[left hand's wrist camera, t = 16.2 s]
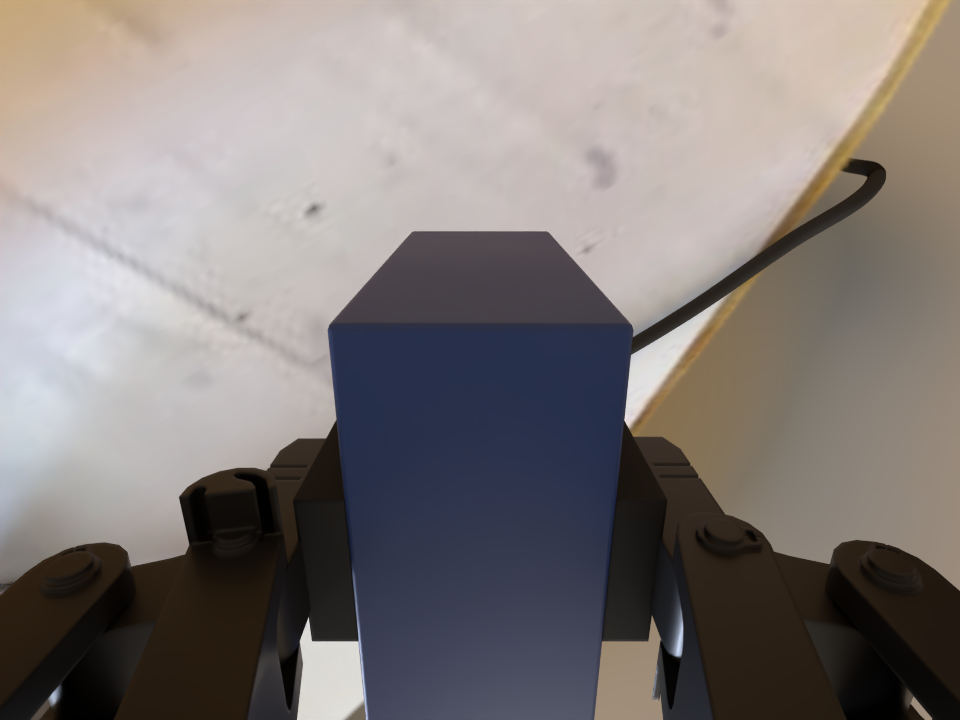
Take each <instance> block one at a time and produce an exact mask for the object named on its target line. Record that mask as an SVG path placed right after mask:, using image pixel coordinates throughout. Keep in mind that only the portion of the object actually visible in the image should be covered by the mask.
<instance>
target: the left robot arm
mask: <svg viewBox="0 0 960 720" xmlns="http://www.w3.org/2000/svg"><path fill="white" fill-rule="evenodd" d="M840 171H843V172H847V173H852V174H858V175H863V176H866V177H867V180H866V181H865V183H864V185H863V186H862V187H861V188H860V189H858V190H857V191H856V192H855V193H854V194H852V195H851V196H849V197H848V198H847V199H845V200H844V201H842V202H840V203H839V204H837V205H836V206H834V207H832V208H831V209H829V210H827V211H826V212H824V213H822V214H821V215H819V216H817V217H815V218H814V219H812V220H810V221H808V222H807V223H805V224H803V225H802V226H800V227H798V228H797V229H795V230H794V231H792V232H790V233H789V234H787V235H786V236H784V237H783V238H781V239H780V240H778V241H777V242H775V243H774V244H773V245H771V246H770V247H768V248H767V249H765V250H764V251H763V252H761V253H760V254H758V255H757V256H755V257H754V258H753V259H751V260H750V261H748V262H747V263H746V264H744V265H743V266H741V267H740V268H738V269H737V270H736V271H734V272H733V273H731V274H730V275H729V276H727V277H726V278H724V279H723V280H722V281H720V282H719V283H717V284H716V285H714V286H713V287H711V288H710V289H709V290H707V291H706V292H704V293H703V294H701V295H700V296H698V297H697V298H695V299H694V300H692V301H691V302H689V303H688V304H686V305H685V306H683V307H681V308H680V309H678V310H677V311H675V312H674V313H672V314H670V315H669V316H667V317H666V318H664V319H662V320H661V321H659V322H658V323H656V324H654V325H653V326H651V327H649V328H648V329H646V330H644V331H643V332H641V333H639V334H638V335H636V336H634V337H633V338H632V348H631V355H632V354H633V353H635V352H637V351H639V350H640V349H642V348H644V347H645V346H647V345H649V344H650V343H652V342H654V341H655V340H657V339H659V338H660V337H662V336H664V335H665V334H667V333H669V332H670V331H672V330H674V329H675V328H677V327H678V326H680V325H682V324H683V323H685V322H686V321H688V320H690V319H691V318H693V317H694V316H696V315H697V314H699V313H700V312H702V311H704V310H705V309H707V308H708V307H710V306H711V305H713V304H714V303H716V302H717V301H718V300H720V299H721V298H723V297H724V296H726V295H727V294H729V293H730V292H732V291H733V290H734V289H736V288H737V287H739V286H740V285H742V284H743V283H744V282H746V281H747V280H749V279H750V278H752V277H753V276H754V275H756V274H757V273H759V272H760V271H762V270H763V269H764V268H766V267H767V266H769V265H770V264H771V263H773V262H774V261H776V260H777V259H779V258H780V257H782V256H783V255H785V254H786V253H788V252H789V251H791V250H792V249H794V248H795V247H797V246H798V245H800V244H801V243H803V242H805V241H806V240H808V239H810V238H811V237H813V236H815V235H817V234H818V233H820V232H822V231H824V230H825V229H827V228H829V227H831V226H832V225H834V224H836V223H838V222H839V221H841V220H843V219H844V218H846V217H848V216H849V215H851V214H852V213H854V212H855V211H857V210H858V209H860V208H861V207H863V206H864V205H865V204H866V203H868V202H869V201H870V200H871V199H872V198H873V197H874V196H875V195H876V194H877V193H878V191H879V190H880V189H881V188H882V186H883V184H884V182H885V180H886V170H885V169H884V167H883V166H882V165H880V164H879V163H877V162H874V161H868V160H860V159H853V158H849V159H848V160H847V162H846V163H845V165H844V166H843V167H842V168H841V170H840ZM179 499H180V504H181V508H182V513H183V518H184V522H185V527H186V531H187V536H188V540H189V547H188V550H187V552H186V554H185V555H181V556H178V557H174V558H170V559H166V560H161V561H156V562H151V563H146V564H142V565H137V566H132V567H131V564H130V560H129V557H128V553H127V551H125V550H124V549H123V548H122V547H121V546H120V545H116V544H110V543H94V544H85V545H81V546H76V547H75V548H74V547H73V548H70V549H67V550H64V551H61V552H60V553H58V554H56V555H54V556H51V557H49V558H47V559H45V560H43V561H42V562H40V563H39V564H37V565H36V566H35V567H33V568H32V569H30V570H29V571H27V572H26V573H25V574H24V575H23V576H21V577H20V578H19V579H18V580H17V581H16V582H15V583H13V584H10V585H3V586H0V720H297V713H298V704H299V695H300V686H301V677H302V667H303V661H302V654H301V647H300V639H301V636H302V633H303V630H304V628H305V625H306V622H307V620H308V617H309V622H310V629H311V636H312V641H358V640H359V639H358V629H357V619H356V609H355V599H354V589H353V579H352V568H351V558H350V548H349V538H348V528H347V518H346V508H345V499H344V490H343V479H342V469H341V459H340V449H339V439H338V429H337V420H336V422H335V424H334V425H333V427H332V429H331V431H330V433H329V435H328V436H327V438H326V439H297V440H296V441H294V442H293V443H291V444H290V445H288V446H287V447H285V448H284V449H282V450H281V451H280V452H279V453H278V455H277V456H276V458H275V459H274V461H273V462H272V464H271V465H270V468H268V470H267V471H265V470H261V469H257V468H235V469H230V470H225V471H219V472H217V473H214V474H211V475H209V476H206V477H203V478H201V479H200V480H198V481H197V482H195V483H193V484H192V485H190V486H188V487H187V488H186V490H185V491H184V492H183V493H182V494H181V495H180V497H179ZM652 616H653V619H654V621H655V624H656V627H657V629H658V632H659V635H660V637H661V640H660V647H659V654H658V661H657V668H656V674H655V681H654V688H653V695H652V699H654V700H659V699H660V694H661V703H662V712H663V720H924V719H923V718H922V717H921V716H920V715H919V713H918V712H917V711H916V710H915V709H914V707H913V706H912V705H911V701H912V698H913V696H914V697H915V698H916V700H917V701H918V702H919V703H920V704H921V705H922V707H923V708H924V709H925V710H926V711H927V713H928V714H929V715H930V716H931V717H932V720H960V591H959V590H958V589H957V588H956V587H954V586H953V585H952V584H951V583H950V582H949V581H948V580H946V579H945V578H944V577H943V576H942V575H941V574H939V573H938V572H937V571H936V570H935V569H933V568H932V567H930V566H929V565H928V564H926V563H925V562H923V561H922V560H920V559H919V558H917V557H915V556H913V555H911V554H909V553H906V552H904V551H902V550H900V549H899V548H896V547H893V546H890V545H885V544H883V543H878V542H871V541H860V540H854V541H849V542H843V543H841V544H840V545H839V546H838V547H836V548H835V549H834V551H833V555H832V558H831V562H830V564H825V563H821V562H816V561H811V560H806V559H801V558H797V557H792V556H788V555H784V554H780V553H777V552H774V551H773V549H772V547H771V544H770V543H769V542H768V540H767V539H766V537H765V536H764V535H763V533H761V532H760V531H759V530H757V529H756V528H754V527H753V526H752V525H750V524H749V523H747V522H745V521H742V520H740V519H738V518H735V517H733V516H729V515H725V514H724V512H723V511H722V509H721V508H720V506H719V505H718V503H717V502H716V500H715V499H714V498H713V496H712V495H711V493H710V492H709V490H708V489H707V487H706V486H705V484H704V483H703V481H702V480H701V479H700V478H698V474H697V473H696V471H695V470H694V468H693V467H692V466H690V462H689V461H688V459H687V458H686V457H685V455H684V454H683V452H682V451H681V449H680V448H678V447H677V446H675V445H674V444H672V443H671V442H669V441H668V440H666V439H665V438H663V437H633V436H632V434H631V432H630V430H629V428H628V427H627V425H626V423H625V421H624V427H623V437H622V447H621V457H620V467H619V477H618V487H617V497H616V504H615V514H614V524H613V534H612V544H611V554H610V564H609V574H608V584H607V594H606V604H605V614H604V624H603V633H602V641H648V639H649V632H650V624H651V617H652Z"/></svg>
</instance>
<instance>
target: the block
mask: <svg viewBox="0 0 960 720" xmlns="http://www.w3.org/2000/svg"><path fill="white" fill-rule="evenodd" d="M328 338H329V348H330V358H331V368H332V378H333V388H334V398H335V408H336V419H337V429H338V439H339V449H340V459H341V469H342V479H343V490H344V499H345V508H346V518H347V528H348V538H349V548H350V558H351V568H352V579H353V589H354V599H355V609H356V619H357V629H358V639H359V640H358V641H359V652H360V662H361V672H362V682H363V692H364V702H365V712H366V720H594V715H595V705H596V696H597V686H598V675H599V666H600V656H601V646H602V633H603V624H604V614H605V604H606V594H607V584H608V574H609V564H610V554H611V544H612V534H613V524H614V514H615V504H616V497H617V487H618V477H619V467H620V457H621V447H622V437H623V427H624V418H625V408H626V398H627V388H628V378H629V368H630V358H631V348H632V338H633V328H632V325H631V324H630V323H629V321H628V320H627V319H626V318H625V317H624V316H623V315H622V314H621V313H620V311H619V310H618V309H617V308H616V307H615V306H614V305H613V304H612V303H611V301H610V300H609V299H608V298H607V297H606V296H605V295H604V294H603V293H602V291H601V290H600V289H599V288H598V287H597V286H596V285H595V284H594V282H593V281H592V280H591V279H590V278H589V277H588V276H587V275H586V274H585V272H584V271H583V270H582V269H581V268H580V267H579V266H578V265H577V264H576V262H575V261H574V260H573V259H572V258H571V257H570V256H569V255H568V254H567V252H566V251H565V250H564V249H563V248H562V247H561V246H560V245H559V243H558V242H557V241H556V240H555V239H554V238H553V237H552V236H551V235H550V233H549V232H493V231H414V232H412V233H411V234H410V235H409V236H408V237H407V238H406V239H405V241H404V242H403V243H402V244H401V245H400V246H399V247H398V248H397V250H396V251H395V252H394V253H393V254H392V255H391V256H390V257H389V259H388V260H387V261H386V262H385V263H384V264H383V265H382V266H381V267H380V269H379V270H378V271H377V272H376V273H375V274H374V275H373V276H372V278H371V279H370V280H369V281H368V282H367V283H366V284H365V285H364V287H363V288H362V289H361V290H360V291H359V292H358V293H357V294H356V296H355V297H354V298H353V299H352V300H351V301H350V302H349V303H348V305H347V306H346V307H345V308H344V309H343V310H342V311H341V312H340V314H339V315H338V316H337V317H336V318H335V319H334V320H333V321H332V322H331V324H330V325H329V328H328Z"/></svg>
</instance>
